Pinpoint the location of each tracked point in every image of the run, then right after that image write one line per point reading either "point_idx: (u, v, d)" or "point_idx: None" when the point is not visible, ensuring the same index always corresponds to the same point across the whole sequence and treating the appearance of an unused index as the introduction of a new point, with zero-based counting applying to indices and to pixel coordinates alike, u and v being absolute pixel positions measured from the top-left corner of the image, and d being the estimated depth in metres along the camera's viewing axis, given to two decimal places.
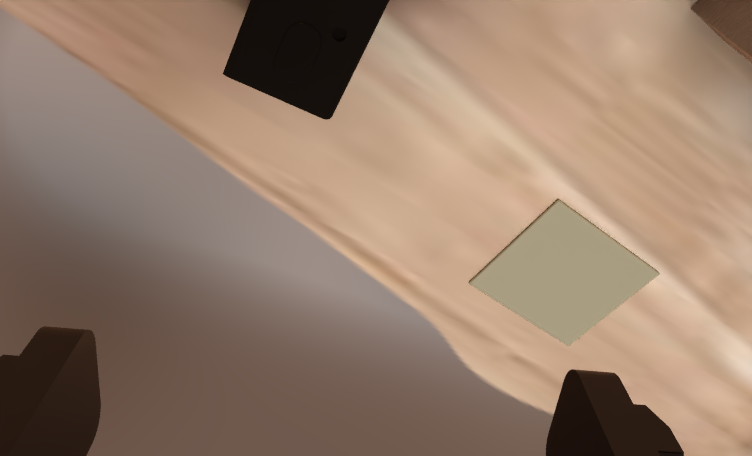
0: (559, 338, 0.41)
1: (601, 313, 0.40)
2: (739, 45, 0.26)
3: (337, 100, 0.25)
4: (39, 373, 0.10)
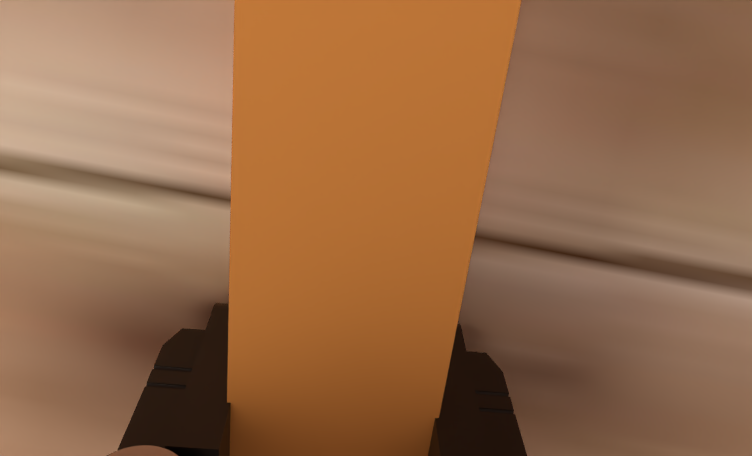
0: None
1: None
2: None
3: None
4: None
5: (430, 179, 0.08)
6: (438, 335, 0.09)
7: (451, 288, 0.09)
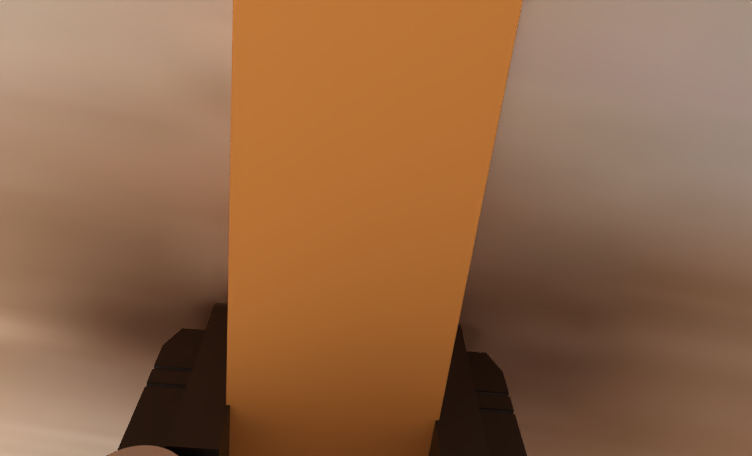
0: None
1: None
2: None
3: None
4: None
5: (430, 188, 0.08)
6: (437, 342, 0.09)
7: (450, 296, 0.09)
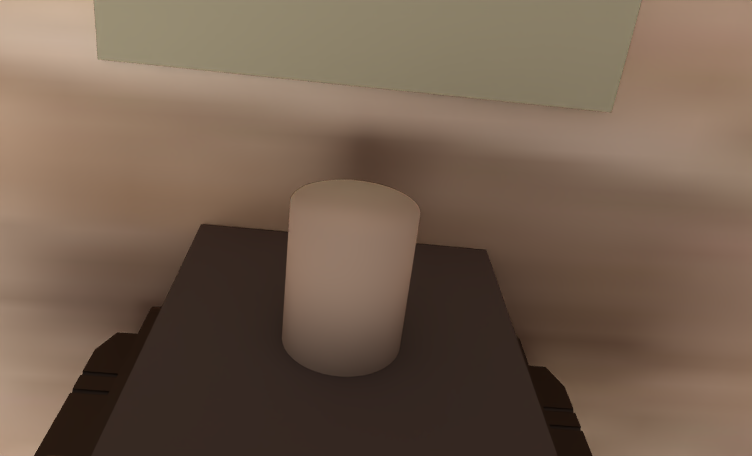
0: None
1: None
2: None
3: None
4: None
5: None
6: None
7: None
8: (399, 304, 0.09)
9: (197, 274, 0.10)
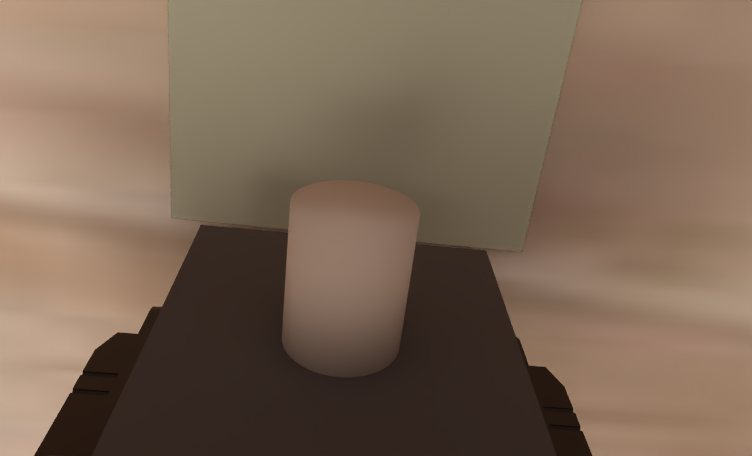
0: None
1: (188, 39, 0.14)
2: None
3: None
4: None
5: None
6: None
7: None
8: (399, 305, 0.09)
9: (197, 275, 0.10)
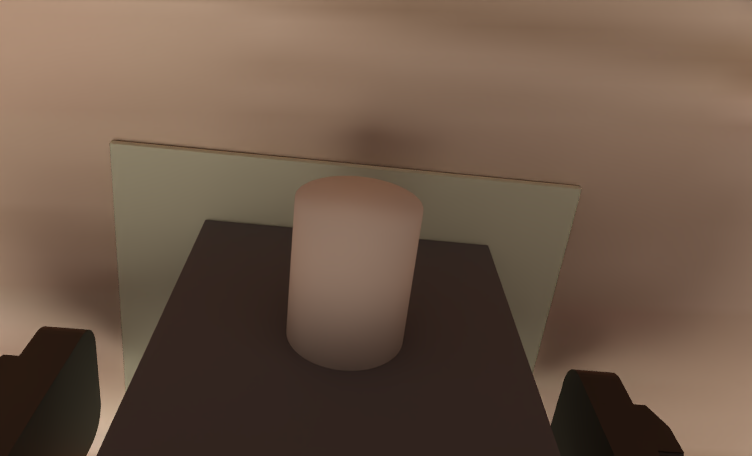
0: (165, 156, 0.11)
1: (141, 300, 0.13)
2: None
3: None
4: (39, 373, 0.10)
5: None
6: None
7: None
8: (403, 299, 0.09)
9: (202, 269, 0.10)
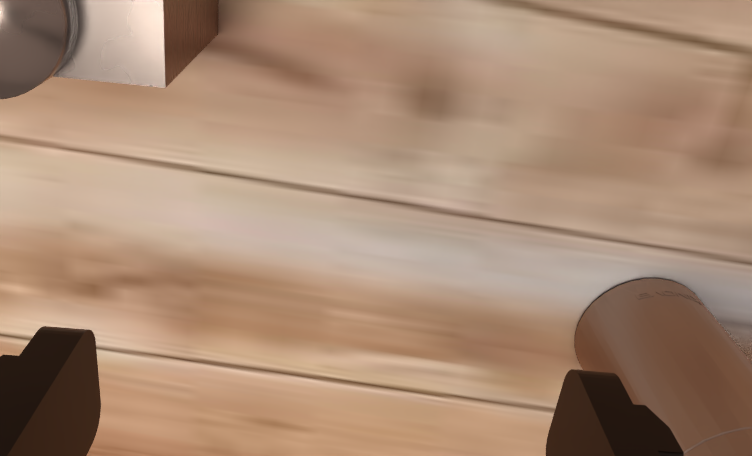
0: None
1: None
2: None
3: None
4: (39, 373, 0.10)
5: None
6: None
7: None
8: None
9: None
